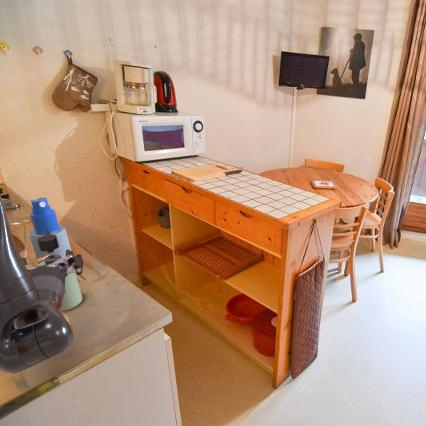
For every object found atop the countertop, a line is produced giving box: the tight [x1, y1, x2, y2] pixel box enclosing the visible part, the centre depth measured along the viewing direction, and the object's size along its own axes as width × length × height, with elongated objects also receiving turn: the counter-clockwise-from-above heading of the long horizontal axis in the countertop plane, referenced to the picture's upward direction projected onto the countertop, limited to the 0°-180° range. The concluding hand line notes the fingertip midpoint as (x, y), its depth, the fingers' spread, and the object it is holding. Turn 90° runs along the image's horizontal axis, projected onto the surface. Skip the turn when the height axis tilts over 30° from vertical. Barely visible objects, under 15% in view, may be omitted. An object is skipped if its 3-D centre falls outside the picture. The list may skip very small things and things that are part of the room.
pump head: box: [37, 231, 59, 253], centre depth 86 cm, size 7×4×4 cm, turn 35°
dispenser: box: [36, 255, 83, 312], centre depth 89 cm, size 8×8×15 cm
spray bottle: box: [29, 197, 72, 265], centre depth 101 cm, size 9×9×25 cm
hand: (47, 256), depth 79 cm, fingers open, 8 cm apart
